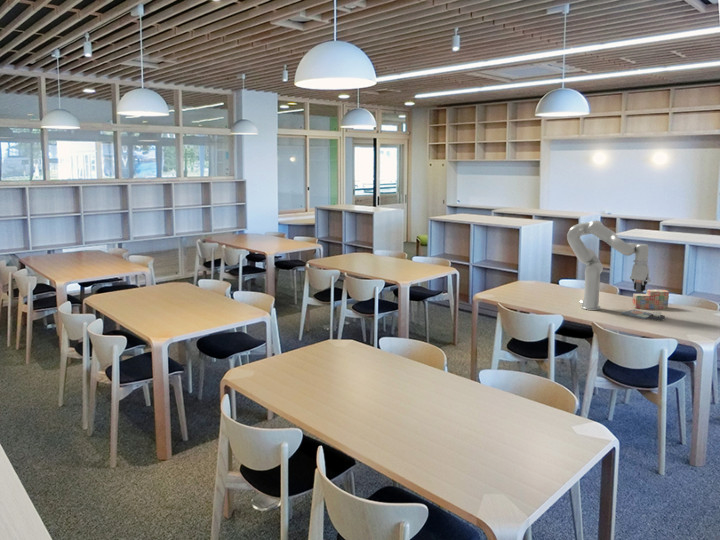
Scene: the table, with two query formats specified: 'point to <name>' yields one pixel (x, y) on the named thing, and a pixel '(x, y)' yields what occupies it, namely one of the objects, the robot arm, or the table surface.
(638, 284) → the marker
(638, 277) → the robot arm
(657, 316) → the button
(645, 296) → the stack of blocks
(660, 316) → the button housing
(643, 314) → the picture board
